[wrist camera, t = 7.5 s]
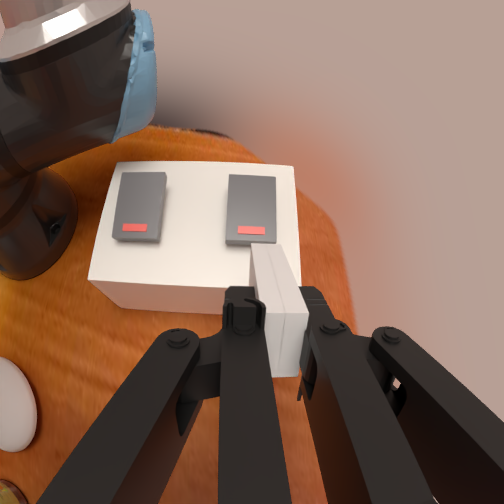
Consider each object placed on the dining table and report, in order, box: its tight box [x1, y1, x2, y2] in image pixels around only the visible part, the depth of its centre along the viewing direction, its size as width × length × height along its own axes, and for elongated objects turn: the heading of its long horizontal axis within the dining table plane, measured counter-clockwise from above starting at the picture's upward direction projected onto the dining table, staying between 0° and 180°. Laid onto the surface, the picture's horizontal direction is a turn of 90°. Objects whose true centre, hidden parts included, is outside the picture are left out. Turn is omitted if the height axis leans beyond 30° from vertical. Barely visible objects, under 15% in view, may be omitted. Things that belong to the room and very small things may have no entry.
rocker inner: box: [112, 172, 167, 242], centre depth 24 cm, size 6×4×1 cm
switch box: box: [88, 161, 301, 315], centre depth 30 cm, size 12×17×9 cm
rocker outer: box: [225, 174, 277, 245], centre depth 25 cm, size 6×4×1 cm
